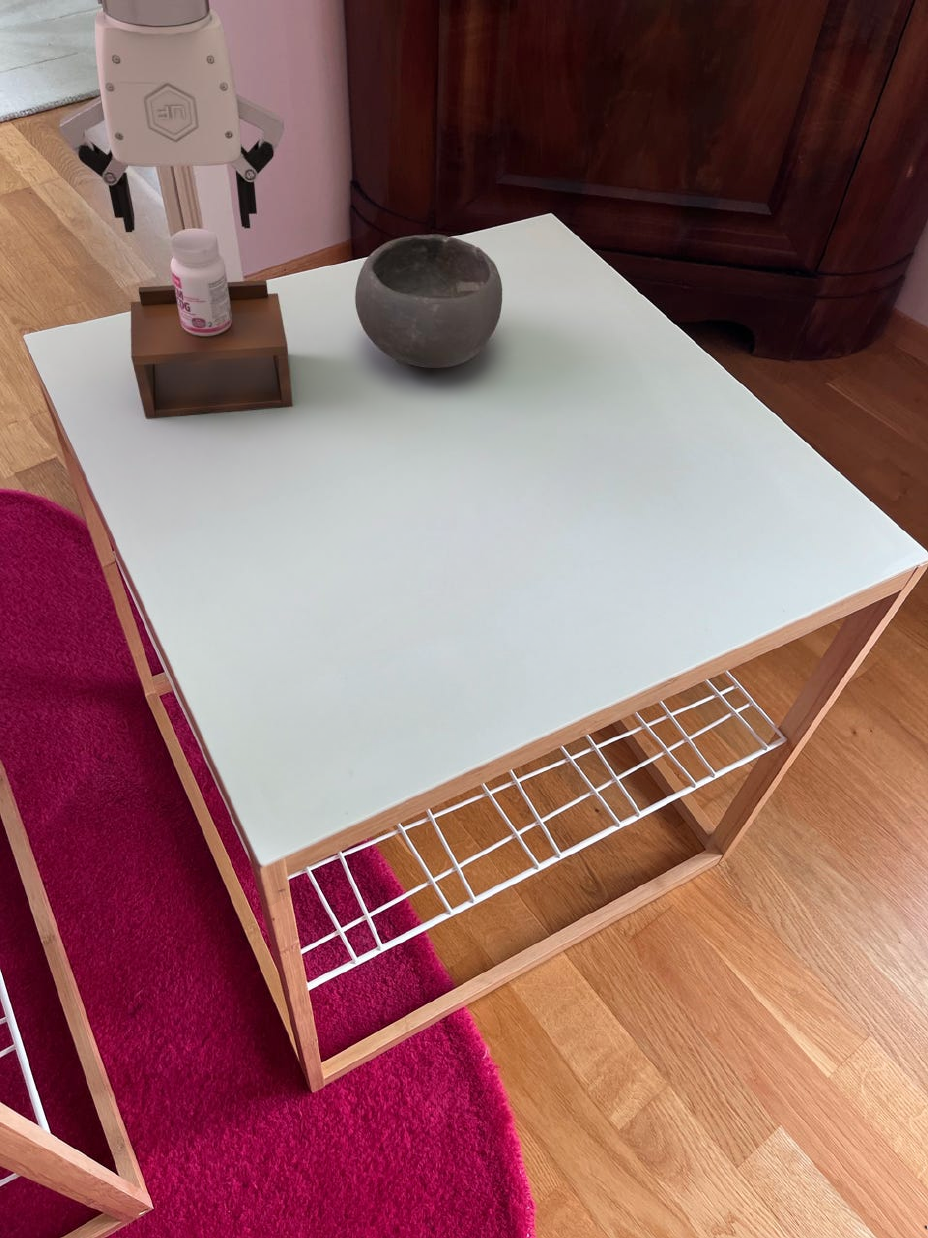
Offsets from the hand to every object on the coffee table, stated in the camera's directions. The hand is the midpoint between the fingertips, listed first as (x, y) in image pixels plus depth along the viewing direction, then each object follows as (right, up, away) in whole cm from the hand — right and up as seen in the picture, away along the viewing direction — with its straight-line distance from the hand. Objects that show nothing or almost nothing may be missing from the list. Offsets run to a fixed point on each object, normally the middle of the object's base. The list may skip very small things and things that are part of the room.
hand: (188, 222), depth 82 cm
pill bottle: (-1, -6, +8) cm, 10 cm away
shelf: (-1, -11, +13) cm, 17 cm away
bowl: (+20, -6, +20) cm, 28 cm away
